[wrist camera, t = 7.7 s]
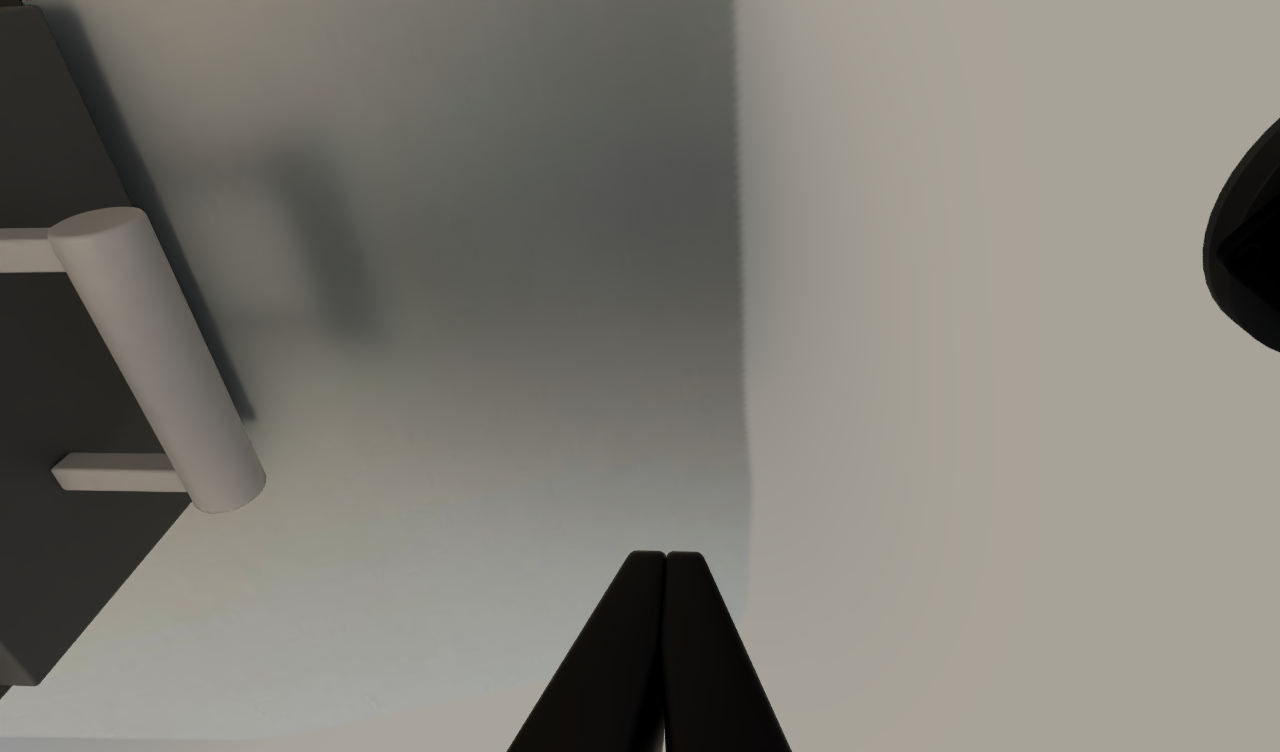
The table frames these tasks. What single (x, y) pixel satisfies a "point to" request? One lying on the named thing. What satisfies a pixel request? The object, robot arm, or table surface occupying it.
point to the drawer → (89, 370)
